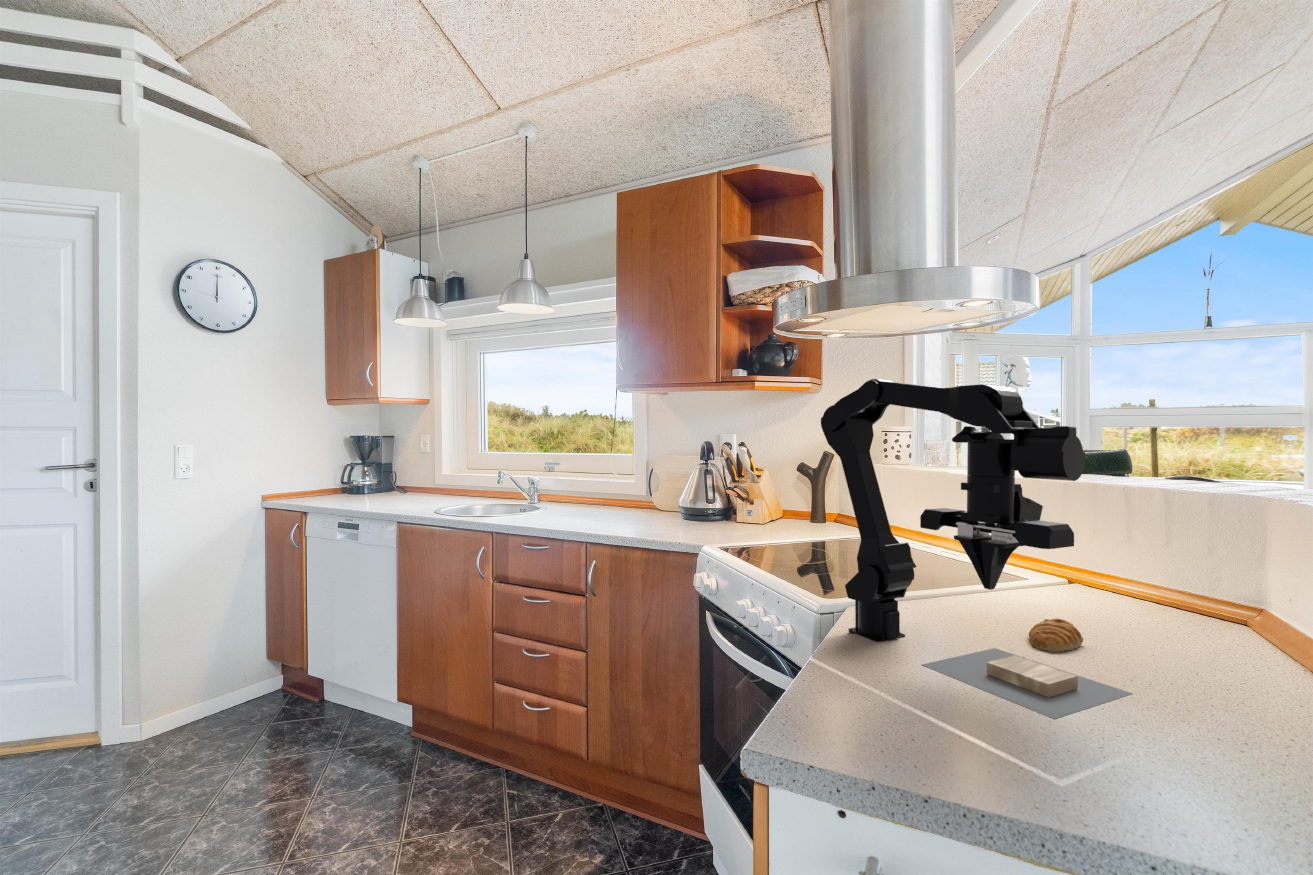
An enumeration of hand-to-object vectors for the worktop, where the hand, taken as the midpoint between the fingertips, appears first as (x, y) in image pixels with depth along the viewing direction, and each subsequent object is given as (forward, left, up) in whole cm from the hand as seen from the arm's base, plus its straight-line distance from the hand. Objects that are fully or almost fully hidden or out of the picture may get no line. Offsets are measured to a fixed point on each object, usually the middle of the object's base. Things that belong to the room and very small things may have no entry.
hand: (989, 588), depth 79 cm
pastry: (-3, +20, -12) cm, 24 cm away
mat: (+3, +1, -12) cm, 12 cm away
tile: (+1, +1, -10) cm, 10 cm away
